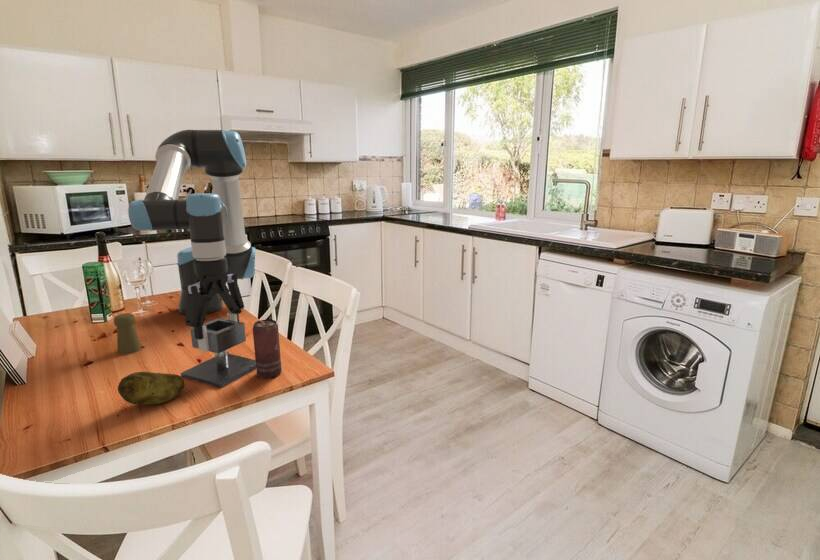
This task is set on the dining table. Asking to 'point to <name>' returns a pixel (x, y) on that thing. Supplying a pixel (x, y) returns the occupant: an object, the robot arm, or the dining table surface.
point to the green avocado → (150, 387)
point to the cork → (126, 334)
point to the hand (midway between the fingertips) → (219, 343)
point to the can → (267, 348)
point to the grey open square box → (222, 334)
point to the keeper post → (220, 369)
